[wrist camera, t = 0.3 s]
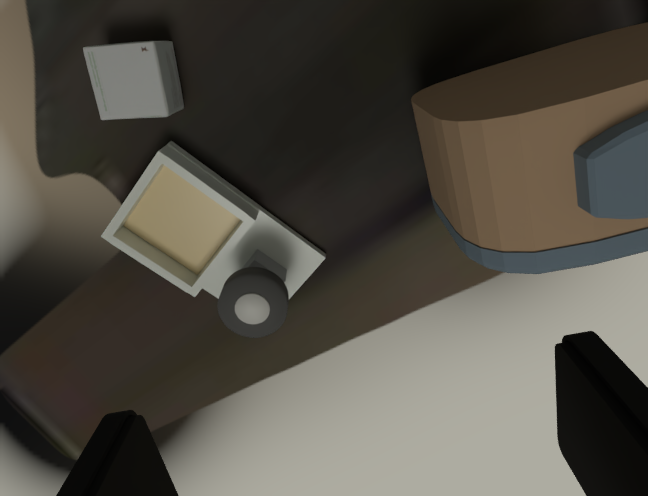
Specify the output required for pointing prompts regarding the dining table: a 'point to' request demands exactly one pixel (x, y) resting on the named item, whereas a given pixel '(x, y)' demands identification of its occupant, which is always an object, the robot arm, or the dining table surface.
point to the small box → (134, 79)
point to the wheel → (253, 302)
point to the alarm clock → (543, 154)
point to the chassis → (204, 228)
